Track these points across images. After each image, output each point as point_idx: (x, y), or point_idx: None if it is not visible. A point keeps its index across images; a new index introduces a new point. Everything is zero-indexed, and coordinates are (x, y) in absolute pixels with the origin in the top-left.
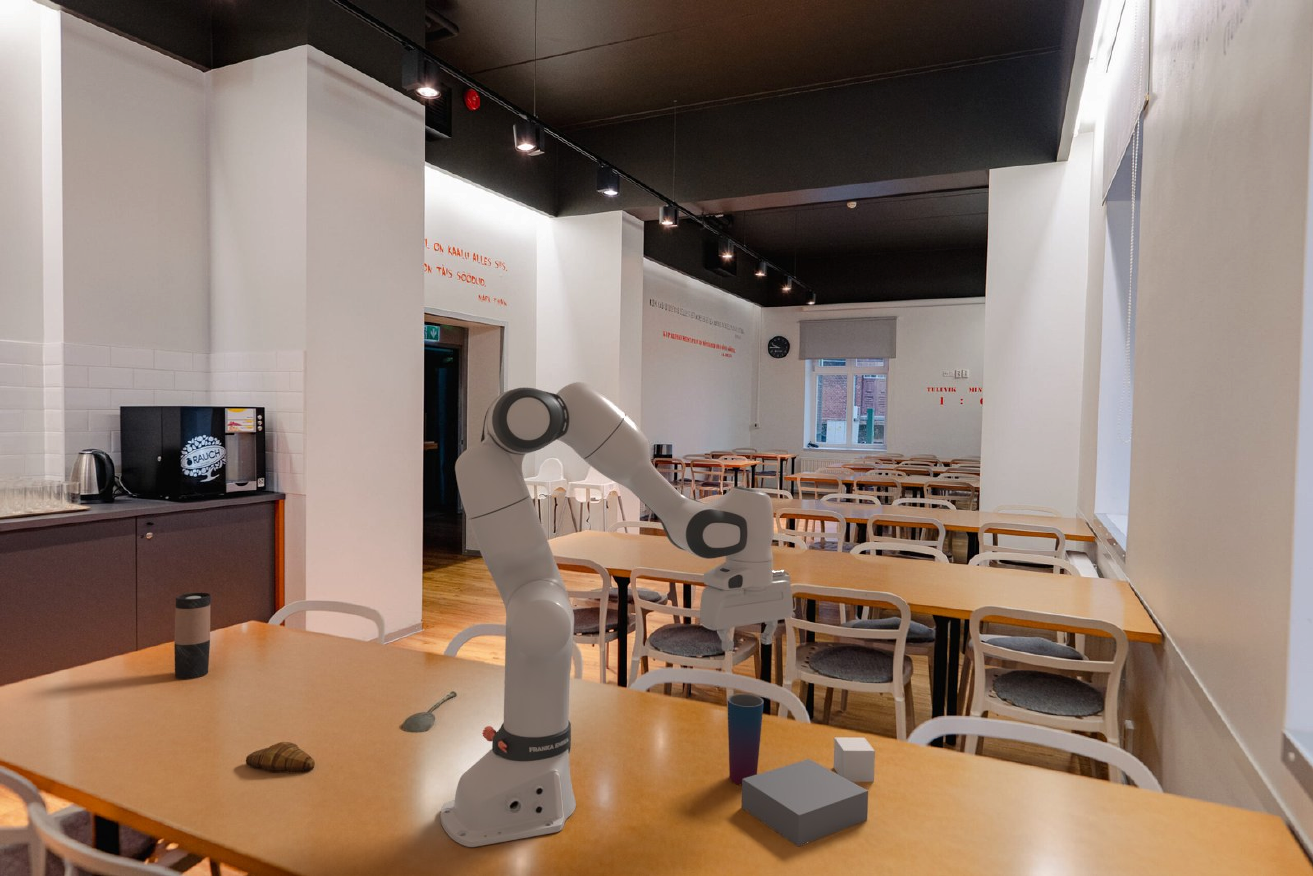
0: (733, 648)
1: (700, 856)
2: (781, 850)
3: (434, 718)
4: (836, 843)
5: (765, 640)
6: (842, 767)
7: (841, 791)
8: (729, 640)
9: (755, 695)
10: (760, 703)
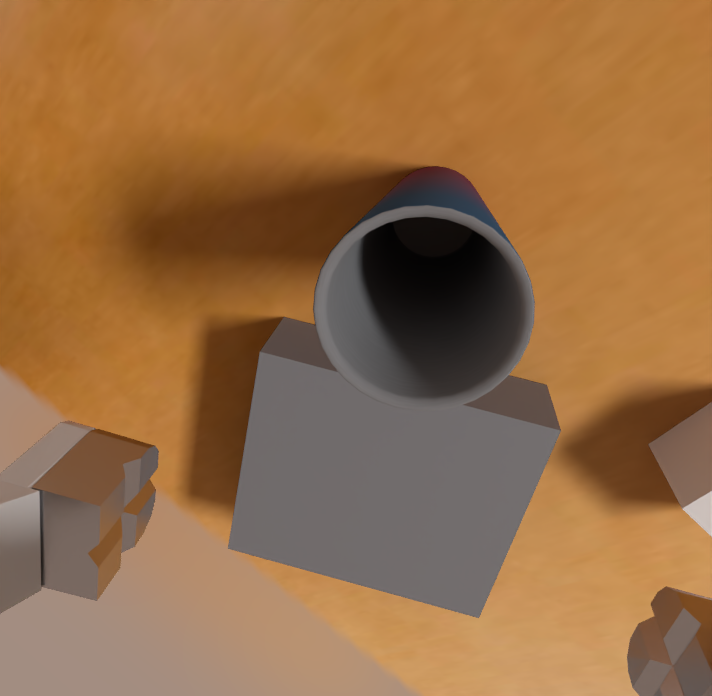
0: (137, 538)
1: (48, 372)
2: (212, 478)
3: None
4: None
5: (649, 680)
6: (668, 464)
7: (420, 575)
8: (4, 606)
9: (533, 316)
10: (493, 360)
